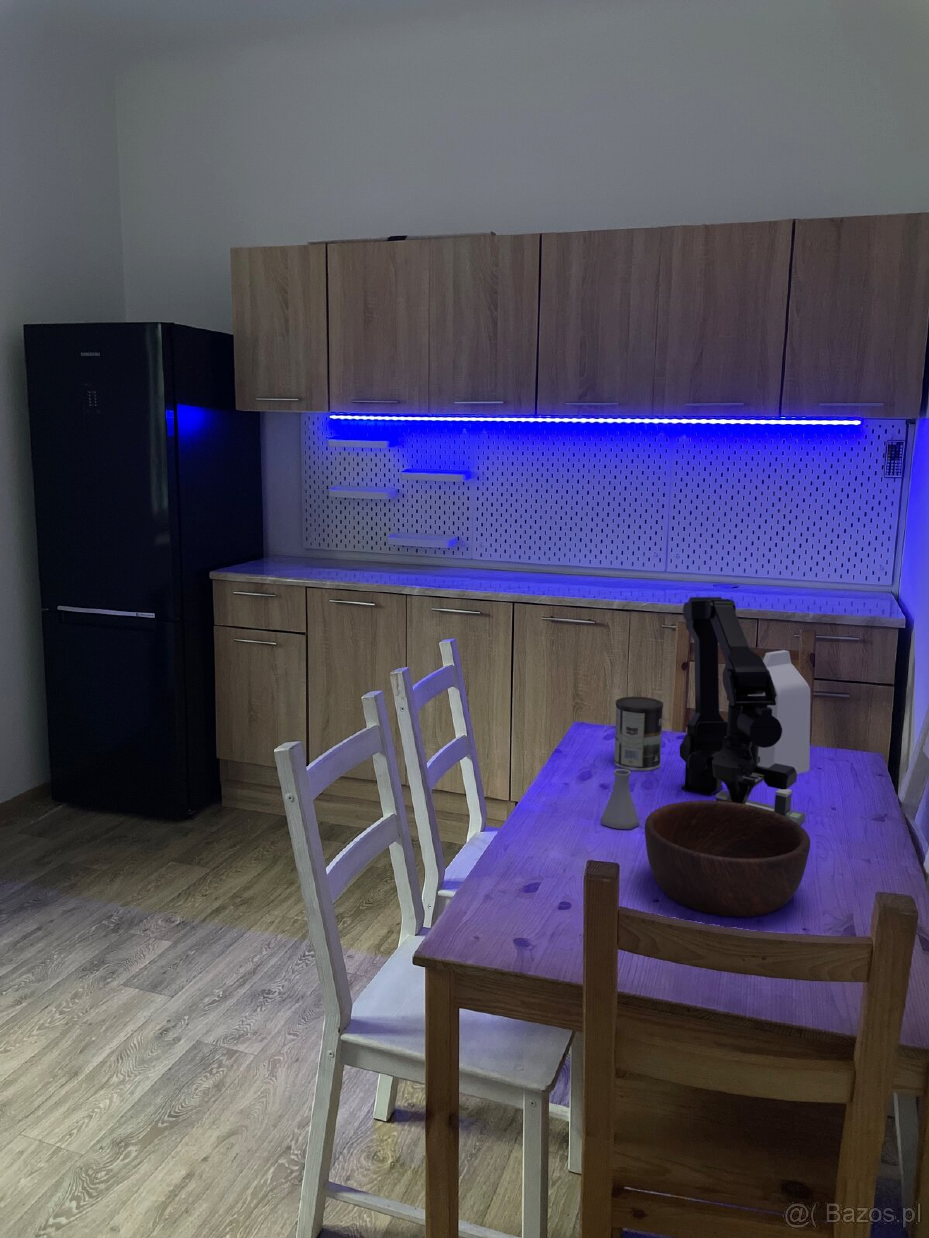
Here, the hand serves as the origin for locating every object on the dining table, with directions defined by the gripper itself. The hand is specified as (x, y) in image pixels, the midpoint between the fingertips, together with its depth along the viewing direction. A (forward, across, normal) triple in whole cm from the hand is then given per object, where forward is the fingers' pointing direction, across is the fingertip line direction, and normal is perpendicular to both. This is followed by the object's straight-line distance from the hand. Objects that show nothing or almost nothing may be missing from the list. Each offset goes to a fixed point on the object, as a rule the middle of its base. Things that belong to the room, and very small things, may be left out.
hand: (738, 812), depth 178 cm
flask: (+3, -18, -12) cm, 22 cm away
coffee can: (+3, -32, +21) cm, 38 cm away
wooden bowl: (+3, +8, -26) cm, 27 cm away
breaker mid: (+1, -3, 0) cm, 3 cm away
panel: (+3, +1, 0) cm, 3 cm away
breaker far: (+1, +5, +8) cm, 10 cm away
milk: (+3, -8, +37) cm, 38 cm away
